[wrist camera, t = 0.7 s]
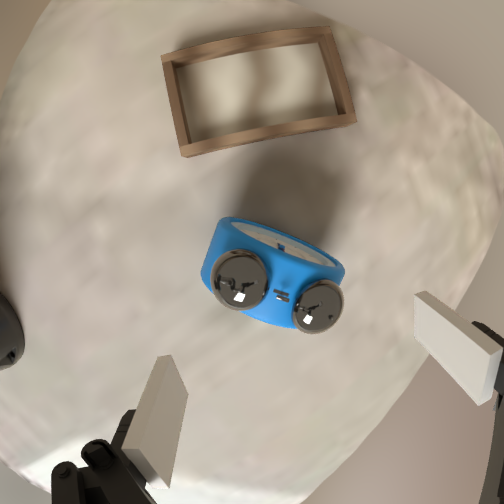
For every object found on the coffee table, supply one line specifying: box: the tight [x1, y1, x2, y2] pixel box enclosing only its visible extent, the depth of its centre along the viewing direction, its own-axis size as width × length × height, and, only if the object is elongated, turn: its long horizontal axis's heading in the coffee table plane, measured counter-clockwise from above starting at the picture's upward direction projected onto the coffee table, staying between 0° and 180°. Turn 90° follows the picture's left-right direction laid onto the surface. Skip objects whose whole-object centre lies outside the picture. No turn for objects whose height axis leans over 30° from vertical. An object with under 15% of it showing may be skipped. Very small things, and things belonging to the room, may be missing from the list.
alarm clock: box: [201, 217, 345, 334], centre depth 30 cm, size 13×6×15 cm, turn 69°
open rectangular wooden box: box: [161, 26, 357, 158], centre depth 31 cm, size 19×12×4 cm, turn 103°
